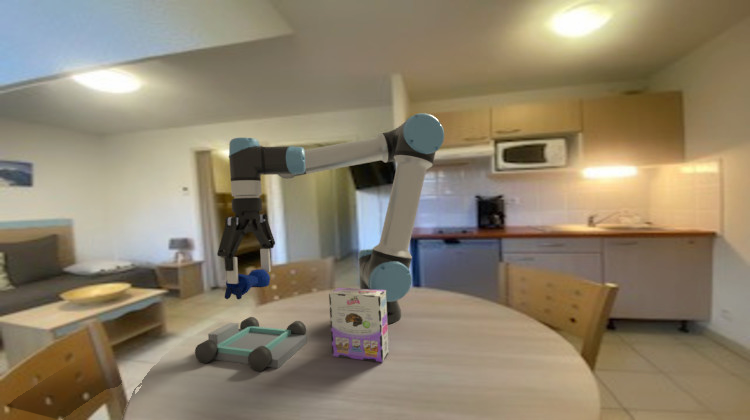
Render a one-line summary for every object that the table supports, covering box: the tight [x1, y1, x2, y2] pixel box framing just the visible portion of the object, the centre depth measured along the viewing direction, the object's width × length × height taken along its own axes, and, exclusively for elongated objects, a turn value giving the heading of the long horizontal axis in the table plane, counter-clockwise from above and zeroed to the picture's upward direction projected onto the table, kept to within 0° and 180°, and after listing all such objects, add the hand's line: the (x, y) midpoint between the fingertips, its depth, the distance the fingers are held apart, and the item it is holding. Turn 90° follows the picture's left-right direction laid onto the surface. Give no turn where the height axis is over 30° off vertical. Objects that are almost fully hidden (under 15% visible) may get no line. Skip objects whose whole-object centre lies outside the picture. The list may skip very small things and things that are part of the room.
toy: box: [224, 268, 271, 300], centre depth 87 cm, size 7×6×15 cm
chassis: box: [194, 316, 308, 372], centre depth 88 cm, size 24×19×5 cm
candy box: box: [328, 287, 390, 363], centre depth 83 cm, size 14×6×16 cm, turn 71°
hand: (250, 277), depth 87 cm, fingers closed on toy, 13 cm apart
